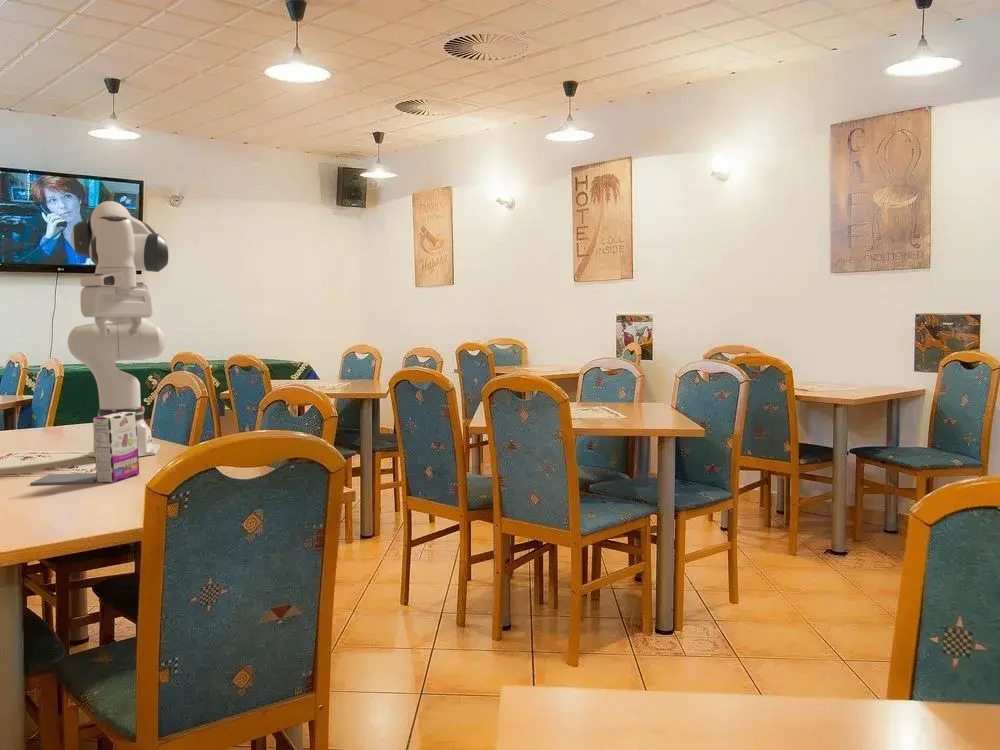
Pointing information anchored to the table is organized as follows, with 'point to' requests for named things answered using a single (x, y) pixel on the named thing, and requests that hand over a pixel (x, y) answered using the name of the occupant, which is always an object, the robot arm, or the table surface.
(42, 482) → the slate mat
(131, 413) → the candy bar box
